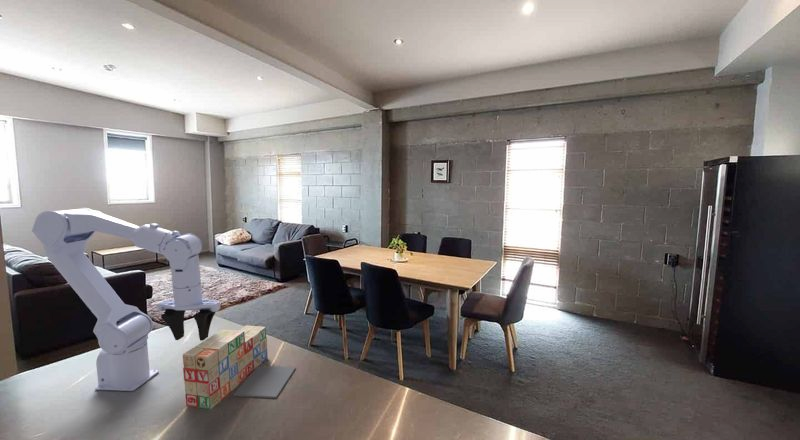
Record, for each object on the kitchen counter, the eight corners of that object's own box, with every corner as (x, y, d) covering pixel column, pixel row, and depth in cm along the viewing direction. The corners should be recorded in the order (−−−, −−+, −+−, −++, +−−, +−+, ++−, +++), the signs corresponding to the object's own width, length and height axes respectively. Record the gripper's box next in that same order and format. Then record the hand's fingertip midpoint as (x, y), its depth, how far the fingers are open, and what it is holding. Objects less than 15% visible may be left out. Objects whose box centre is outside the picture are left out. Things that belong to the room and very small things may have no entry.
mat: (233, 396, 74) (233, 394, 74) (258, 366, 86) (258, 365, 86) (276, 398, 74) (276, 396, 74) (295, 368, 86) (295, 366, 86)
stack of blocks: (247, 356, 92) (246, 314, 90) (268, 358, 91) (266, 316, 89) (185, 406, 71) (181, 353, 69) (210, 410, 70) (207, 356, 68)
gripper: (225, 279, 82) (229, 331, 83) (170, 279, 82) (175, 330, 84) (208, 289, 75) (212, 344, 76) (147, 288, 75) (153, 344, 77)
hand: (191, 338), depth 80 cm, fingers open, 6 cm apart
